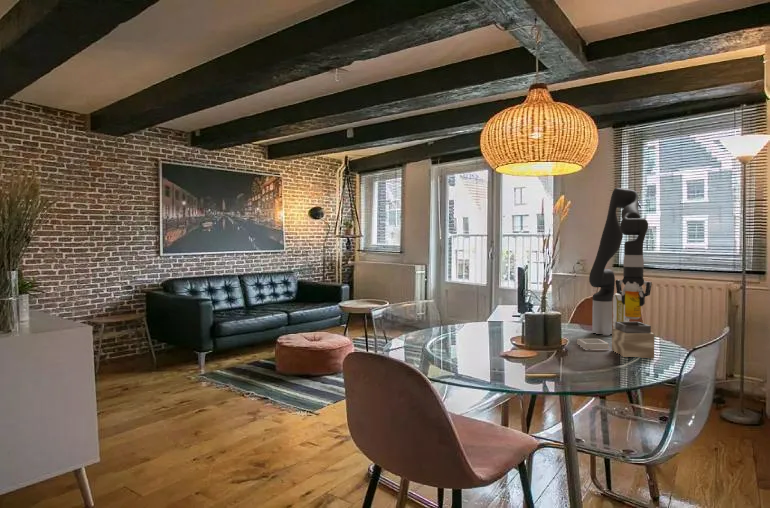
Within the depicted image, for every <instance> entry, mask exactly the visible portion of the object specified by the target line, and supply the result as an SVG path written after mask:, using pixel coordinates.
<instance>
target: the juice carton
mask: <svg viewBox="0 0 770 508" xmlns="http://www.w3.org/2000/svg"><path fill="white" fill-rule="evenodd" d="M615 322H630V319H628V318H626V317H625V305H624V304H623V303H622V296H621V295H620V294H617V292H616V293H614V296H613V299H612V328H615Z"/></svg>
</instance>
